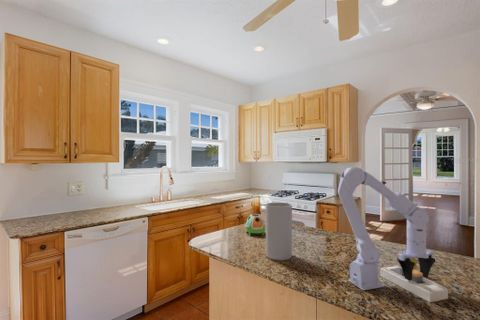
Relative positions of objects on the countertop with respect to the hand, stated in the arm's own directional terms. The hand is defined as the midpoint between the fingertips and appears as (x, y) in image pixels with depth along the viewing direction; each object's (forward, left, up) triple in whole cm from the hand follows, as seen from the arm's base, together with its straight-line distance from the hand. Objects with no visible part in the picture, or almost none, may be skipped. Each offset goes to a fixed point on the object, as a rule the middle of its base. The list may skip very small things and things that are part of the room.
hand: (416, 277), depth 92 cm
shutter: (0, +6, -1) cm, 6 cm away
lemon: (+9, +11, -4) cm, 15 cm away
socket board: (0, +2, -4) cm, 4 cm away
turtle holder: (-32, +84, -4) cm, 90 cm away
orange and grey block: (0, 0, -4) cm, 4 cm away
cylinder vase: (-34, +43, -4) cm, 55 cm away
